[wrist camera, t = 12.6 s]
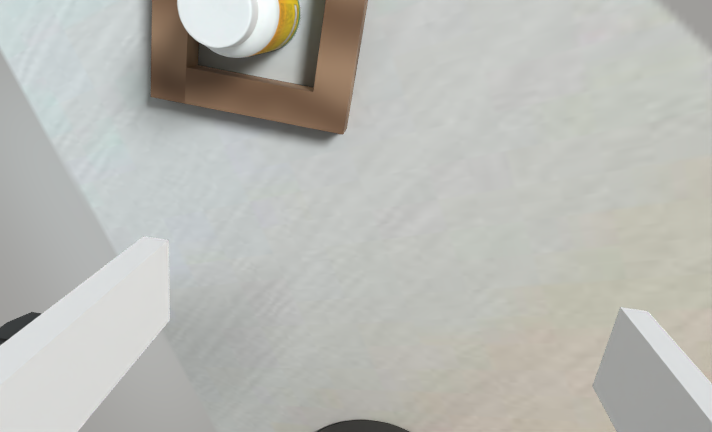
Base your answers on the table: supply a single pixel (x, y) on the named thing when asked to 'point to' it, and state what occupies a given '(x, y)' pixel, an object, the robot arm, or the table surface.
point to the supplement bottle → (241, 24)
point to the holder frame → (256, 94)
